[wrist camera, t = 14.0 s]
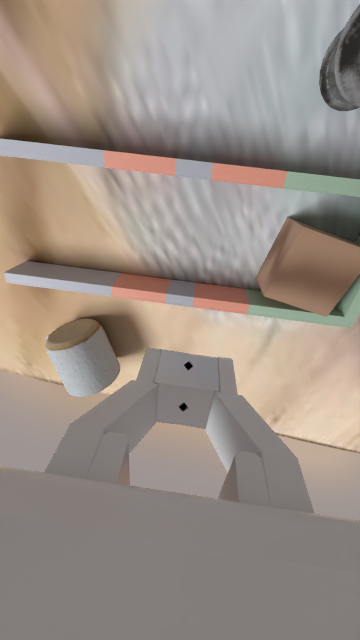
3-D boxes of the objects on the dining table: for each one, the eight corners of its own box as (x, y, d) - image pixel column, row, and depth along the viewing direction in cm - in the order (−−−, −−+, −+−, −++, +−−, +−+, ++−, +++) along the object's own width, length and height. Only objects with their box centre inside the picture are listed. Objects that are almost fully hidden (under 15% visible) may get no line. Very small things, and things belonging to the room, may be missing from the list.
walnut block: (286, 216, 25) (303, 226, 21) (347, 239, 26) (375, 253, 21) (255, 277, 29) (263, 296, 25) (309, 295, 29) (326, 317, 25)
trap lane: (-4, 138, 24) (-39, 134, 20) (397, 184, 23) (430, 187, 19) (28, 270, 31) (6, 282, 27) (334, 309, 30) (350, 327, 26)
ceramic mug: (107, 310, 33) (81, 345, 27) (127, 357, 37) (109, 397, 31) (40, 322, 35) (2, 356, 29) (67, 364, 39) (38, 403, 33)
